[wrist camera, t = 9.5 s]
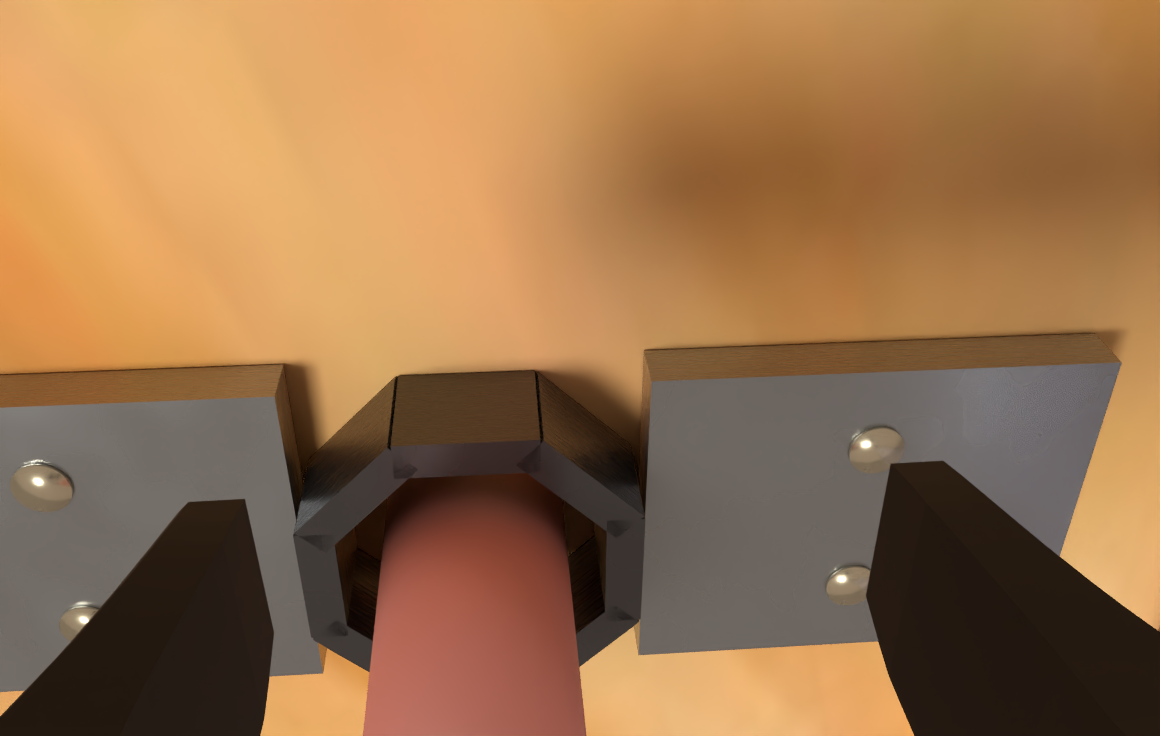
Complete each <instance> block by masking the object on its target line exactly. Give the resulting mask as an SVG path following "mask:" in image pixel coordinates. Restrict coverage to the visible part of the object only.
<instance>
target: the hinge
mask: <svg viewBox="0 0 1160 736" xmlns="http://www.w3.org/2000/svg"><path fill="white" fill-rule="evenodd" d="M1121 363H1122V362H1121V361H1120V360H1119V359H1118V358H1117V357H1116V356H1115V355H1114V354H1113V353H1112V352H1111V350H1110V349H1109V348H1108V347H1107V346H1106V345H1105V344H1104V343H1103V342H1102V341H1101V340H1100V338H1099V337H1098V336H1097V335H1096V334H1095V333H1092V334H1065V335H1039V336H1013V337H987V338H961V339H935V340H909V341H883V342H857V343H831V344H805V345H778V346H752V347H726V348H700V349H674V350H648V351H644V364H643V387H642V411H641V434H640V458H639V481H638V478H637V473H636V468H635V463H634V458H633V453H632V448H631V447H630V444H629V443H628V442H626V441H625V440H624V439H623V438H621V437H620V436H619V435H618V434H616V433H615V432H614V431H613V430H611V429H610V428H609V427H607V426H606V425H605V424H604V423H602V422H601V421H600V420H599V419H597V418H596V417H595V416H593V415H592V414H591V413H590V412H588V411H587V410H586V409H585V408H583V407H582V406H581V405H580V404H578V403H577V402H576V401H574V400H573V399H572V398H571V397H569V396H568V395H567V394H566V393H564V392H563V391H562V390H560V389H559V388H558V387H557V386H555V385H554V384H553V383H552V382H550V381H549V380H548V379H547V378H545V377H544V376H543V375H541V374H540V373H539V372H537V373H536V374H535V371H514V372H488V373H463V374H437V375H412V376H398V379H397V378H394V379H393V380H392V381H391V382H390V383H388V384H387V385H386V386H385V387H384V388H383V389H382V390H381V391H380V392H379V393H378V394H377V395H376V396H375V397H374V398H373V399H372V400H371V401H370V402H368V403H367V404H366V405H365V406H364V407H363V408H362V409H361V410H360V411H359V412H358V413H357V414H356V415H355V416H354V417H353V418H352V419H351V420H350V421H348V422H347V423H346V424H345V425H344V426H343V427H342V428H341V429H340V430H339V431H338V432H337V433H336V434H335V435H334V436H333V437H332V438H331V439H330V440H328V441H327V442H326V443H325V444H324V445H323V446H322V447H321V448H320V449H319V450H318V451H317V452H316V453H315V454H314V455H313V456H312V457H311V458H310V459H309V462H308V467H307V471H306V476H305V481H304V485H303V479H302V473H301V467H300V461H299V455H298V449H297V444H296V438H295V432H294V426H293V420H292V414H291V408H290V402H289V396H288V390H287V384H286V378H285V372H284V366H283V365H257V366H231V367H205V368H178V369H152V370H126V371H100V372H74V373H48V374H22V375H0V692H7V691H25V690H26V689H27V688H28V687H29V686H30V685H31V684H32V683H33V682H34V681H35V680H36V679H37V677H38V676H39V675H40V674H41V673H42V672H43V671H44V670H45V669H46V668H47V667H48V666H49V665H50V664H51V663H52V662H53V661H54V660H55V659H56V658H57V656H58V655H59V654H60V653H61V652H62V651H63V650H64V649H65V648H66V646H67V645H68V644H69V643H70V642H71V641H72V640H73V638H74V637H75V636H76V635H77V634H78V633H79V632H80V630H81V629H82V628H83V627H84V626H85V625H86V623H87V622H88V621H89V620H90V619H91V618H92V617H93V615H94V614H95V613H96V612H97V611H98V610H99V608H100V607H101V606H102V605H103V604H104V603H105V601H106V600H107V599H108V598H109V597H110V596H111V594H112V593H113V592H114V591H115V590H116V588H117V587H118V586H119V585H120V584H121V582H122V581H123V580H124V579H125V578H126V576H127V575H128V574H129V573H130V571H131V570H132V569H133V568H134V567H135V565H136V564H137V563H138V562H139V560H140V559H141V558H142V557H143V556H144V554H145V553H146V552H147V551H148V549H149V548H150V547H151V546H152V544H153V543H154V542H155V541H156V539H157V538H158V537H159V536H160V534H161V533H162V532H163V531H164V529H165V528H166V527H167V526H168V524H169V523H170V522H171V521H172V519H173V518H174V517H175V516H176V515H177V513H178V512H179V511H180V510H181V509H182V508H183V507H184V506H185V505H186V504H187V503H188V502H196V501H214V500H232V499H245V501H246V506H247V510H248V515H249V520H250V524H251V529H252V533H253V538H254V542H255V547H256V552H257V556H258V561H259V565H260V570H261V575H262V579H263V584H264V588H265V593H266V597H267V602H268V607H269V611H270V616H271V620H272V625H273V630H274V639H273V648H272V658H271V667H270V676H285V675H302V674H319V673H323V671H324V664H325V657H326V651H327V648H328V649H330V650H331V651H333V652H335V653H337V654H338V655H340V656H342V657H344V658H345V659H347V660H349V661H351V662H352V663H354V664H356V665H358V666H359V667H361V668H363V669H365V670H366V671H368V672H370V664H371V654H372V645H373V635H374V625H375V616H376V606H377V597H378V587H379V578H380V568H381V562H379V561H377V560H376V559H374V558H373V557H371V556H370V555H368V554H366V553H365V552H363V551H362V550H360V549H358V548H357V541H356V534H355V526H356V525H357V524H359V523H360V522H361V521H362V520H363V519H364V518H365V517H366V516H368V515H369V514H370V513H371V512H372V511H373V510H374V509H375V508H376V507H378V506H379V505H380V504H381V503H382V502H383V501H384V500H385V499H386V498H388V497H389V496H390V495H391V494H392V493H393V492H394V491H395V490H396V489H398V488H399V487H400V486H401V485H402V484H403V483H404V482H405V481H406V480H408V479H409V478H427V477H449V476H470V475H492V474H514V473H527V474H529V475H530V476H531V477H533V478H534V479H535V480H537V481H538V482H540V483H541V484H542V485H544V486H545V487H546V488H548V489H549V490H551V491H552V492H553V493H555V494H556V495H557V496H559V497H560V498H561V499H563V500H564V501H566V502H567V503H568V504H570V505H571V506H572V507H574V508H575V509H577V510H578V511H579V512H581V513H582V514H583V515H585V516H586V517H588V518H589V519H590V520H592V521H593V522H594V523H595V536H594V537H593V538H592V539H590V540H589V541H588V542H587V543H585V544H584V545H583V546H582V547H580V548H579V549H578V550H577V551H575V552H574V553H573V554H572V555H570V556H569V557H568V563H569V573H570V583H571V592H572V602H573V612H574V621H575V631H576V641H577V650H578V660H579V667H580V666H581V665H583V664H584V663H585V662H586V661H588V660H589V659H590V658H592V657H593V656H594V655H596V654H597V653H598V652H600V651H601V650H602V649H604V648H605V647H606V646H608V645H609V644H610V643H612V642H613V641H614V640H616V639H617V638H618V637H620V636H621V635H622V634H624V633H625V632H626V631H628V630H629V629H630V628H632V627H633V626H634V630H635V637H636V643H637V649H638V655H648V654H666V653H683V652H700V651H718V650H735V649H752V648H770V647H787V646H804V645H822V644H839V643H856V642H874V641H878V638H877V635H876V631H875V627H874V624H873V620H872V616H871V613H870V609H869V605H868V602H867V598H866V592H867V586H868V581H869V576H870V570H871V565H872V560H873V555H874V549H875V544H876V539H877V533H878V528H879V523H880V517H881V512H882V507H883V501H884V496H885V491H886V485H887V480H888V475H889V470H890V464H891V463H909V462H927V461H944V462H946V463H947V464H948V465H949V466H951V467H952V468H953V469H955V470H956V471H957V472H958V473H960V474H961V475H962V476H963V477H964V478H966V479H967V480H968V481H969V482H970V483H972V484H973V485H974V486H975V487H976V488H978V489H979V490H980V491H981V492H982V493H984V494H985V495H986V496H987V497H988V498H990V499H991V500H992V501H993V502H994V503H996V504H997V505H998V506H999V507H1000V508H1001V509H1003V510H1004V511H1005V512H1006V513H1007V514H1009V515H1010V516H1011V517H1012V518H1013V519H1015V520H1016V521H1017V522H1018V523H1019V524H1021V525H1022V526H1023V527H1024V528H1025V529H1027V530H1028V531H1029V532H1030V533H1031V534H1033V535H1034V536H1035V537H1036V538H1037V539H1039V540H1040V541H1041V542H1042V543H1044V544H1045V545H1046V546H1047V547H1048V548H1050V549H1051V550H1052V551H1053V552H1054V553H1056V554H1057V555H1058V556H1060V553H1061V550H1062V547H1063V544H1064V541H1065V537H1066V534H1067V531H1068V528H1069V525H1070V522H1071V519H1072V516H1073V513H1074V509H1075V506H1076V503H1077V500H1078V497H1079V494H1080V491H1081V488H1082V484H1083V481H1084V478H1085V475H1086V472H1087V469H1088V466H1089V463H1090V460H1091V456H1092V453H1093V450H1094V447H1095V444H1096V441H1097V438H1098V435H1099V431H1100V428H1101V425H1102V422H1103V419H1104V416H1105V413H1106V410H1107V407H1108V403H1109V400H1110V397H1111V394H1112V391H1113V388H1114V385H1115V382H1116V378H1117V375H1118V372H1119V369H1120V366H1121Z"/></svg>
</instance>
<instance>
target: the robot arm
mask: <svg viewBox="0 0 1160 736" xmlns="http://www.w3.org/2000/svg"><path fill="white" fill-rule="evenodd" d="M866 598H867V602H868V605H869V609H870V613H871V616H872V620H873V624H874V627H875V631H876V635H877V638H878V642H879V645H880V648H881V651H882V655H883V658H884V661H885V665H886V668H887V671H888V674H889V677H890V680H891V682H892V684H893V687H894V689H895V692H896V694H897V696H898V699H899V701H900V703H901V706H902V708H903V710H904V713H905V715H906V717H907V719H908V722H909V724H910V726H911V729H912V731H913V733H914V736H1160V632H1159V631H1157V630H1156V629H1155V628H1153V627H1152V626H1150V625H1149V624H1148V623H1146V622H1145V621H1143V620H1142V619H1141V618H1139V617H1138V616H1136V615H1135V614H1134V613H1132V612H1131V611H1129V610H1128V609H1127V608H1125V607H1124V606H1123V605H1121V604H1120V603H1119V602H1117V601H1116V600H1115V599H1113V598H1112V597H1111V596H1109V595H1108V594H1107V593H1105V592H1104V591H1103V590H1101V589H1100V588H1099V587H1097V586H1096V585H1095V584H1094V583H1092V582H1091V581H1090V580H1088V579H1087V578H1086V577H1085V576H1083V575H1082V574H1081V573H1080V572H1078V571H1077V570H1076V569H1074V568H1073V567H1072V566H1071V565H1069V564H1068V563H1067V562H1066V561H1064V560H1063V559H1062V558H1061V557H1059V556H1058V555H1057V554H1056V553H1054V552H1053V551H1052V550H1051V549H1050V548H1048V547H1047V546H1046V545H1045V544H1044V543H1042V542H1041V541H1040V540H1039V539H1037V538H1036V537H1035V536H1034V535H1033V534H1031V533H1030V532H1029V531H1028V530H1027V529H1025V528H1024V527H1023V526H1022V525H1021V524H1019V523H1018V522H1017V521H1016V520H1015V519H1013V518H1012V517H1011V516H1010V515H1009V514H1007V513H1006V512H1005V511H1004V510H1003V509H1001V508H1000V507H999V506H998V505H997V504H996V503H994V502H993V501H992V500H991V499H990V498H988V497H987V496H986V495H985V494H984V493H982V492H981V491H980V490H979V489H978V488H976V487H975V486H974V485H973V484H972V483H970V482H969V481H968V480H967V479H966V478H964V477H963V476H962V475H961V474H960V473H958V472H957V471H956V470H955V469H953V468H952V467H951V466H949V465H948V464H947V463H946V462H944V461H927V462H909V463H891V464H890V470H889V475H888V480H887V485H886V491H885V496H884V501H883V507H882V512H881V517H880V523H879V528H878V533H877V539H876V544H875V549H874V555H873V560H872V565H871V570H870V576H869V581H868V586H867V592H866ZM273 639H274V630H273V625H272V620H271V616H270V611H269V607H268V602H267V597H266V593H265V588H264V584H263V579H262V575H261V570H260V565H259V561H258V556H257V552H256V547H255V542H254V538H253V533H252V529H251V524H250V520H249V515H248V510H247V506H246V501H245V499H232V500H214V501H196V502H188V503H187V504H186V505H185V506H184V507H183V508H182V509H181V510H180V511H179V512H178V513H177V515H176V516H175V517H174V518H173V519H172V521H171V522H170V523H169V524H168V526H167V527H166V528H165V529H164V531H163V532H162V533H161V534H160V536H159V537H158V538H157V539H156V541H155V542H154V543H153V544H152V546H151V547H150V548H149V549H148V551H147V552H146V553H145V554H144V556H143V557H142V558H141V559H140V560H139V562H138V563H137V564H136V565H135V567H134V568H133V569H132V570H131V571H130V573H129V574H128V575H127V576H126V578H125V579H124V580H123V581H122V582H121V584H120V585H119V586H118V587H117V588H116V590H115V591H114V592H113V593H112V594H111V596H110V597H109V598H108V599H107V600H106V601H105V603H104V604H103V605H102V606H101V607H100V608H99V610H98V611H97V612H96V613H95V614H94V615H93V617H92V618H91V619H90V620H89V621H88V622H87V623H86V625H85V626H84V627H83V628H82V629H81V630H80V632H79V633H78V634H77V635H76V636H75V637H74V638H73V640H72V641H71V642H70V643H69V644H68V645H67V646H66V648H65V649H64V650H63V651H62V652H61V653H60V654H59V655H58V656H57V658H56V659H55V660H54V661H53V662H52V663H51V664H50V665H49V666H48V667H47V668H46V669H45V670H44V671H43V672H42V673H41V674H40V675H39V676H38V677H37V679H36V680H35V681H34V682H33V683H32V684H31V685H30V686H29V687H28V688H27V689H26V690H25V691H24V692H23V693H22V694H21V695H20V696H19V697H18V699H17V700H16V701H15V702H14V703H13V704H12V705H11V706H10V707H9V708H8V709H7V710H6V711H5V712H4V713H3V714H2V715H1V716H0V736H260V734H261V730H262V725H263V721H264V716H265V708H266V700H267V692H268V684H269V676H270V667H271V658H272V648H273Z"/></svg>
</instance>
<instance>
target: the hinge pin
mask: <svg viewBox="0 0 1160 736" xmlns="http://www.w3.org/2000/svg"><path fill="white" fill-rule="evenodd" d="M363 736H586V728H585V718H584V708H583V699H582V689H581V679H580V670H579V660H578V650H577V641H576V631H575V621H574V612H573V602H572V592H571V583H570V573H569V563H568V554H567V544H566V534H565V525H564V515H563V505H562V499H561V498H560V497H559V496H557V495H556V494H555V493H553V492H552V491H551V490H549V489H548V488H546V487H545V486H544V485H542V484H541V483H540V482H538V481H537V480H535V479H534V478H533V477H531V476H530V475H529V474H527V473H514V474H492V475H470V476H449V477H427V478H409V479H408V480H406V481H405V482H404V483H403V484H402V485H401V486H400V487H399V488H398V489H396V490H395V491H394V492H393V493H392V494H391V495H390V496H389V497H388V501H387V511H386V520H385V530H384V540H383V549H382V559H381V568H380V578H379V587H378V597H377V606H376V616H375V625H374V635H373V645H372V654H371V664H370V673H369V683H368V692H367V702H366V711H365V721H364V730H363Z"/></svg>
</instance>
